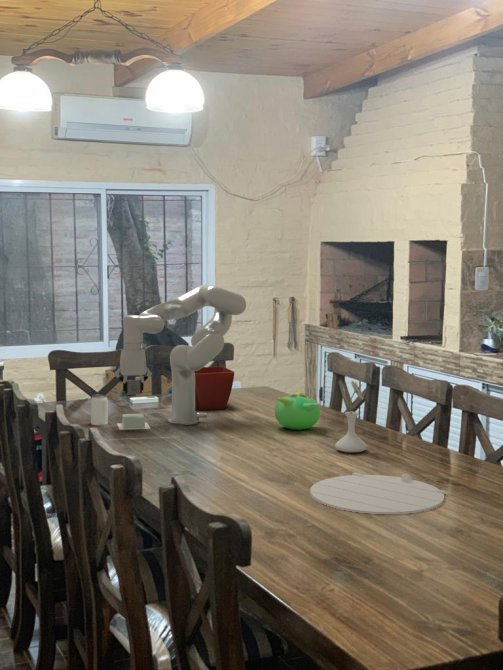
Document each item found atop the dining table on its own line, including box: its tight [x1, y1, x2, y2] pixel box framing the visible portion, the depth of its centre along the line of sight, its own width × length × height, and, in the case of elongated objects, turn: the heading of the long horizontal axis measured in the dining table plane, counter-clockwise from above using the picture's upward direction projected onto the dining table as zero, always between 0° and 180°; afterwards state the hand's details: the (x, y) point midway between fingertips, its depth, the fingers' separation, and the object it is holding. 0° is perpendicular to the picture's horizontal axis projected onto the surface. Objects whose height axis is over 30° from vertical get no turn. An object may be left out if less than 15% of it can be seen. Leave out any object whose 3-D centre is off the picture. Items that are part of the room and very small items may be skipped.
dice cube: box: [126, 379, 141, 396], centre depth 355 cm, size 5×5×5 cm
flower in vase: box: [334, 380, 368, 453], centre depth 322 cm, size 13×11×25 cm
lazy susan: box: [309, 472, 449, 515], centre depth 268 cm, size 40×39×3 cm
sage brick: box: [121, 413, 146, 428], centre depth 356 cm, size 8×8×4 cm
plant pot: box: [194, 366, 235, 411], centre depth 401 cm, size 19×19×17 cm
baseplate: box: [116, 421, 152, 431], centre depth 357 cm, size 12×12×1 cm
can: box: [90, 394, 109, 426], centre depth 360 cm, size 6×6×12 cm
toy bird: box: [274, 390, 321, 431], centre depth 357 cm, size 18×17×15 cm
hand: (133, 392), depth 355 cm, fingers closed on dice cube, 5 cm apart
